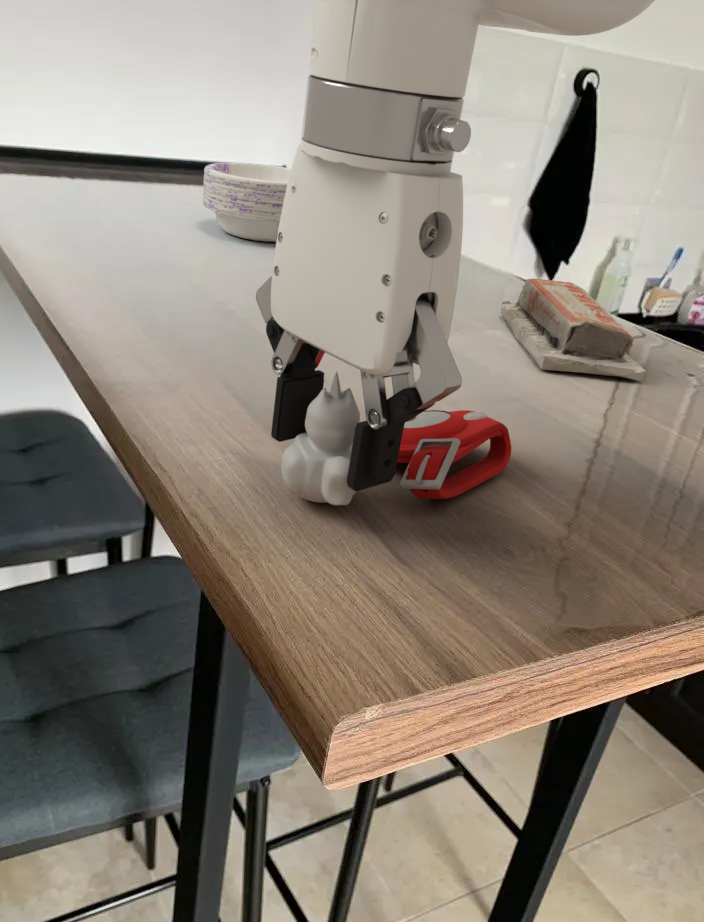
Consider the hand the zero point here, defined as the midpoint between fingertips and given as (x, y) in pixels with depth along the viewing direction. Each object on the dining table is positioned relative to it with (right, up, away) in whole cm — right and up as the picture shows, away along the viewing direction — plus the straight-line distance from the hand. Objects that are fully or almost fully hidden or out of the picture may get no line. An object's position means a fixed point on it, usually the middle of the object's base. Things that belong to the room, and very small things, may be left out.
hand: (330, 456), depth 51 cm
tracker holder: (+6, -1, +7) cm, 9 cm away
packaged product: (+24, +13, +37) cm, 46 cm away
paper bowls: (-9, +33, +63) cm, 72 cm away
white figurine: (0, -3, +2) cm, 3 cm away
